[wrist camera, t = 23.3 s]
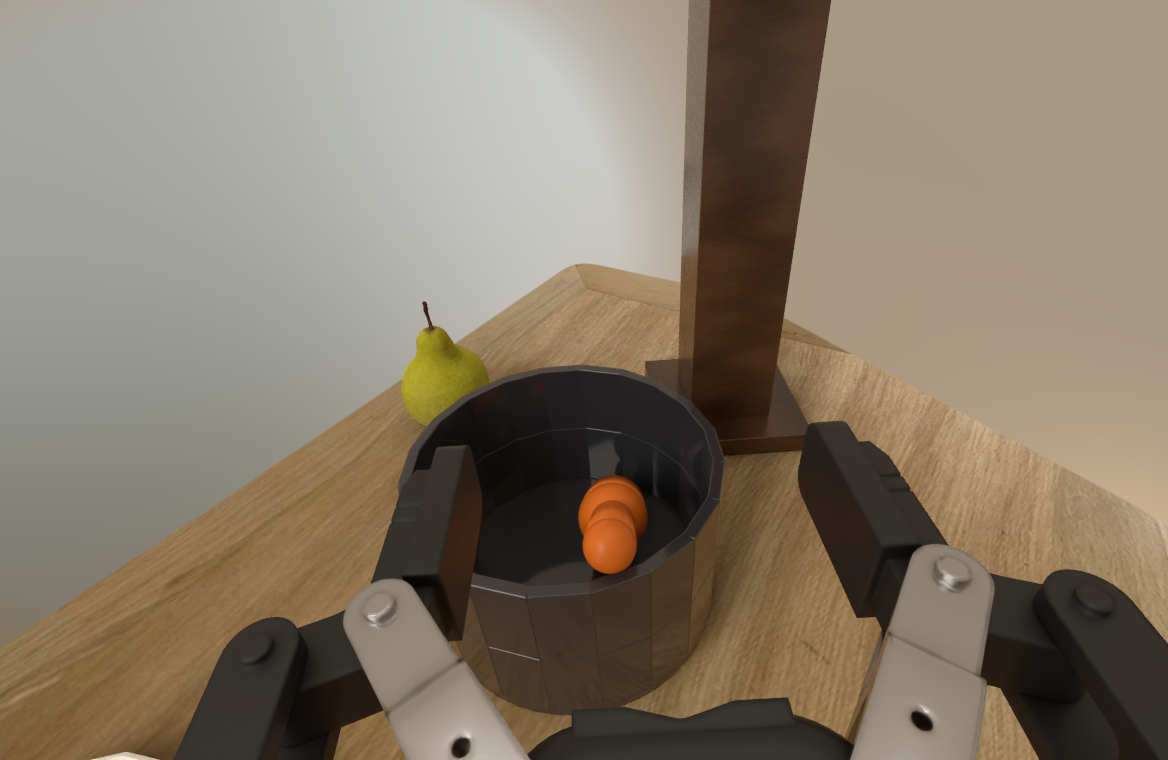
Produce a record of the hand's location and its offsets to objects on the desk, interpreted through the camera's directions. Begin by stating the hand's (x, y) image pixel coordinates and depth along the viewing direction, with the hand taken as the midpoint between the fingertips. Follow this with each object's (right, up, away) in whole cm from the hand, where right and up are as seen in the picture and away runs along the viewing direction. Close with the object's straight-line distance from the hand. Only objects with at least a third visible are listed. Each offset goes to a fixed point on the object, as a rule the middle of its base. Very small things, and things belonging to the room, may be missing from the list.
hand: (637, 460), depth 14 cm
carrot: (+1, -7, +16) cm, 18 cm away
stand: (+10, 0, +33) cm, 35 cm away
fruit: (-12, -2, +35) cm, 37 cm away
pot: (-2, -10, +21) cm, 24 cm away
